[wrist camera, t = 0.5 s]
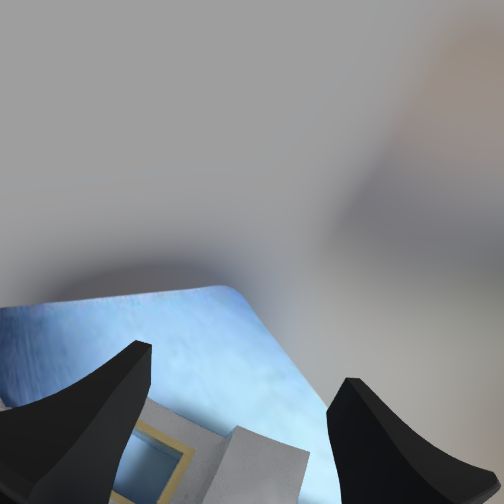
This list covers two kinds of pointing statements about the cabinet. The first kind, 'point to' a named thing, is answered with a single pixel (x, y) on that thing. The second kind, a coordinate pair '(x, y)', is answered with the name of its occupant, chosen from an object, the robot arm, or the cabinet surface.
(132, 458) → the cabinet surface
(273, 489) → the white stepped block
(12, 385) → the cabinet surface
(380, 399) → the robot arm
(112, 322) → the cabinet surface
